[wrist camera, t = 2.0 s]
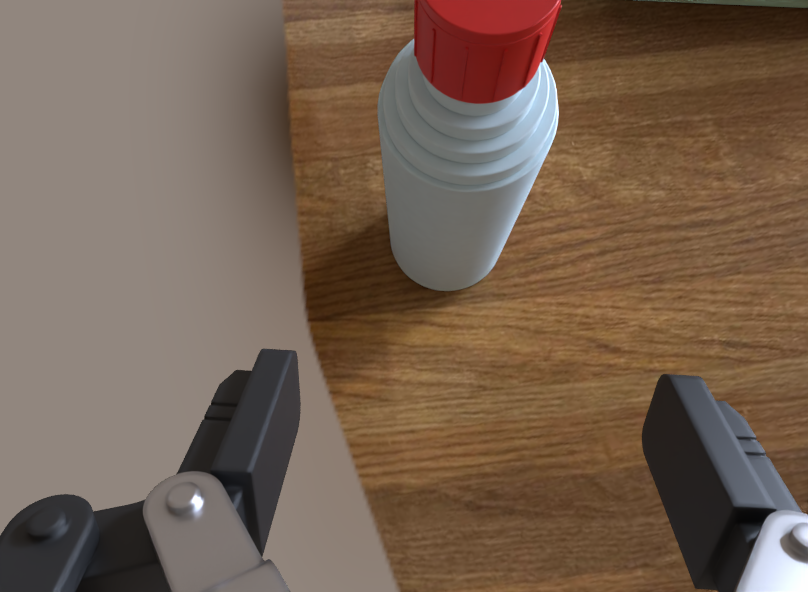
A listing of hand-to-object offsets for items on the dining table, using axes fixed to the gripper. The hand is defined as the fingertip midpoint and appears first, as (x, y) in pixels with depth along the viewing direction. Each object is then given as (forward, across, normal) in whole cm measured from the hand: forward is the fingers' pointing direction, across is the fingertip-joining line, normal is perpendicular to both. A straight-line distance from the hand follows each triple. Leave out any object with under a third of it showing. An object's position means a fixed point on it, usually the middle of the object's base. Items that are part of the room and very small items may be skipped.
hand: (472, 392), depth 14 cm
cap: (+9, 0, -6) cm, 11 cm away
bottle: (+21, 0, +6) cm, 22 cm away
